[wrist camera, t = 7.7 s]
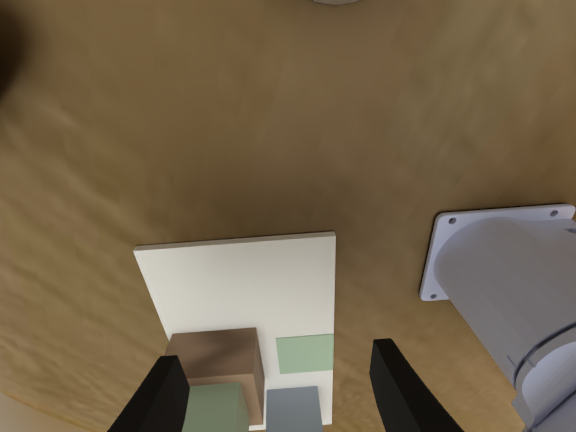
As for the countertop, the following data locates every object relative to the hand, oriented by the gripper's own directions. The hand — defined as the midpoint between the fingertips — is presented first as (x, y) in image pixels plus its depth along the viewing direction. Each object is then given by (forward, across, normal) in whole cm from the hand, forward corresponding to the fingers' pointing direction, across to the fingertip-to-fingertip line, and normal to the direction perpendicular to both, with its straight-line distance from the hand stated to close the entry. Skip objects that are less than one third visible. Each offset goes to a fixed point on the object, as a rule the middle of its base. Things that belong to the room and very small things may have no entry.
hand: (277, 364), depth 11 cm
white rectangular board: (+10, +3, +14) cm, 17 cm away
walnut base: (+10, +6, +13) cm, 17 cm away
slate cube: (+10, 0, +21) cm, 23 cm away
